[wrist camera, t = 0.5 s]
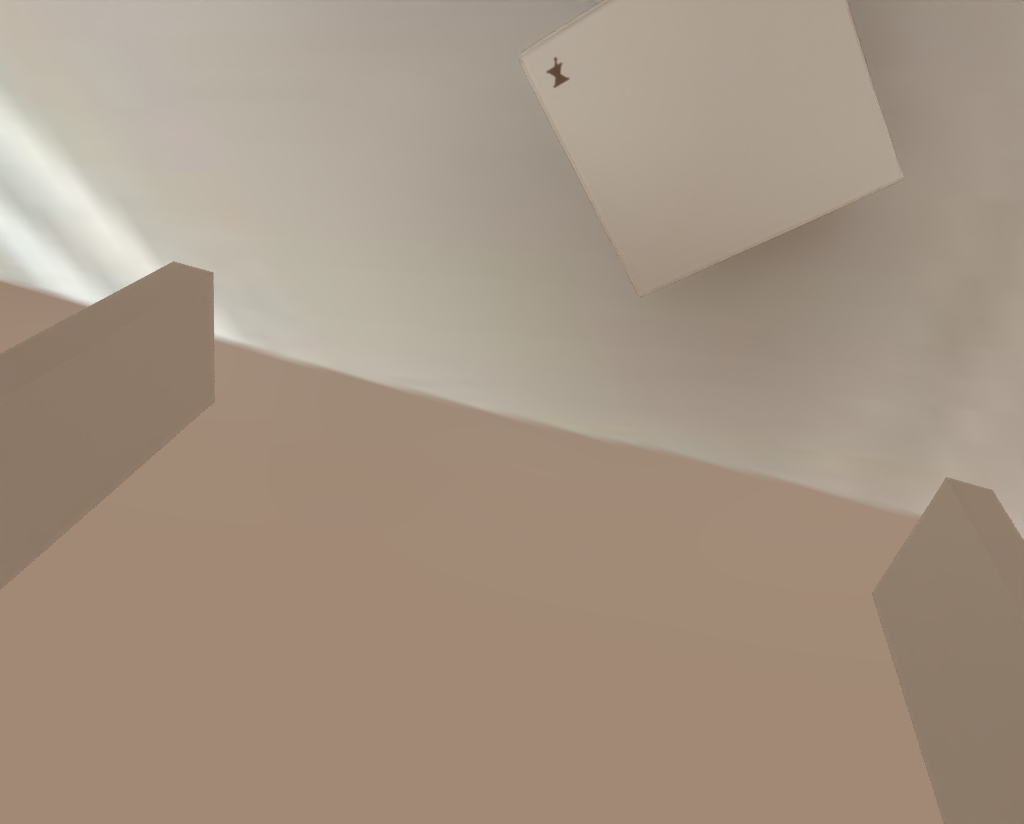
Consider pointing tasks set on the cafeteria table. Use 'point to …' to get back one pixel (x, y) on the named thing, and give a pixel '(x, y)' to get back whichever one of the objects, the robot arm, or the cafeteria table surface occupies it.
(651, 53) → the supplement box
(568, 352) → the cafeteria table surface
